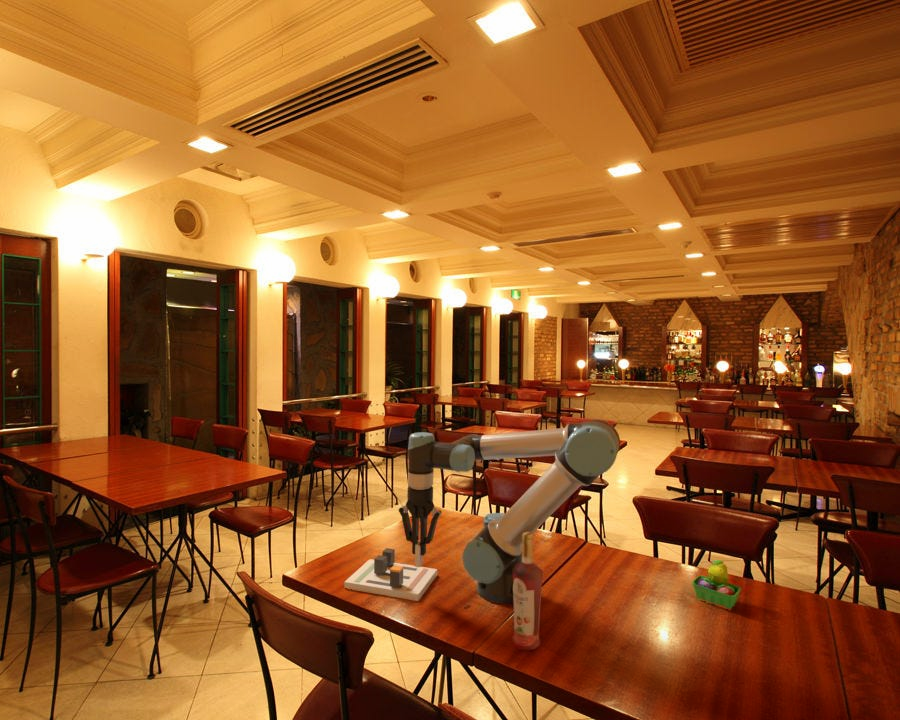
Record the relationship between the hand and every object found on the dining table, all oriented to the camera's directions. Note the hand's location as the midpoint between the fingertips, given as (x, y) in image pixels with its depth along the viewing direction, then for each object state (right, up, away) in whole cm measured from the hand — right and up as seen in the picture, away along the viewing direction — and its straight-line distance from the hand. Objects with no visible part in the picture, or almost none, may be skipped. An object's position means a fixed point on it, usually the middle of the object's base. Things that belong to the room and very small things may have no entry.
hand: (418, 565), depth 145 cm
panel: (-9, -9, +9) cm, 16 cm away
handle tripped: (-7, -7, +2) cm, 10 cm away
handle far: (-11, -6, +16) cm, 21 cm away
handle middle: (-13, -7, +10) cm, 18 cm away
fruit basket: (+87, -11, -1) cm, 88 cm away
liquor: (+28, -11, -23) cm, 38 cm away
